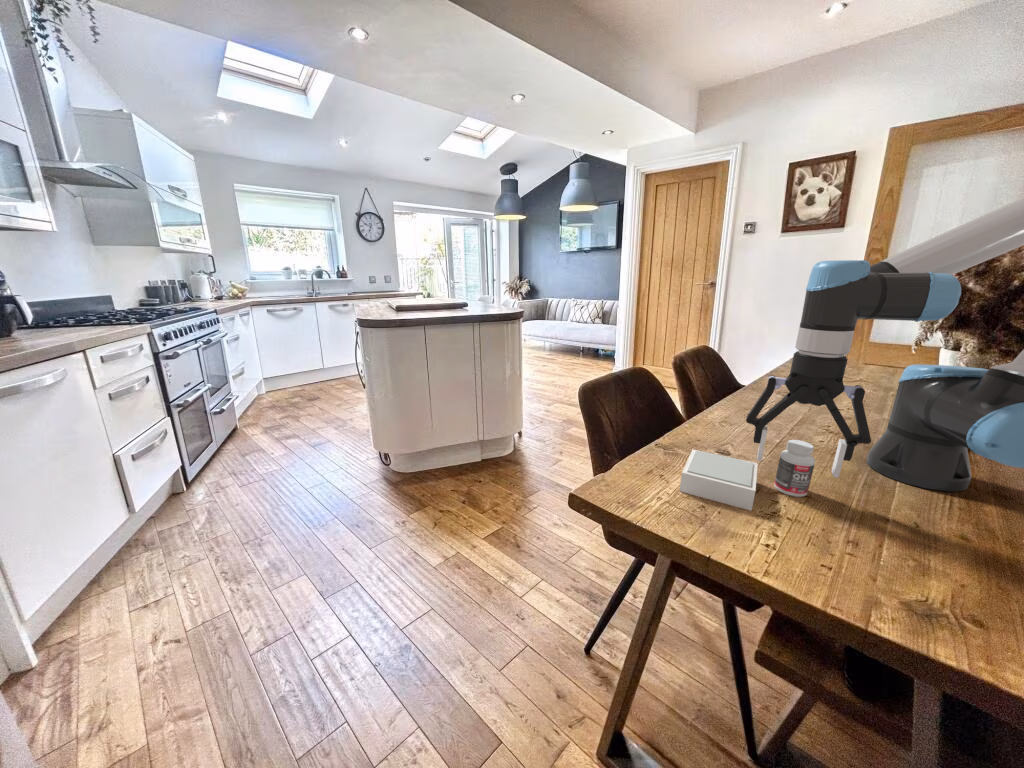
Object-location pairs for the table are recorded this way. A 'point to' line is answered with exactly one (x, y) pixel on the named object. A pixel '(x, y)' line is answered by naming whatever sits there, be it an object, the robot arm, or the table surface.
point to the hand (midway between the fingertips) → (795, 466)
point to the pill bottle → (795, 469)
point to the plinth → (720, 479)
